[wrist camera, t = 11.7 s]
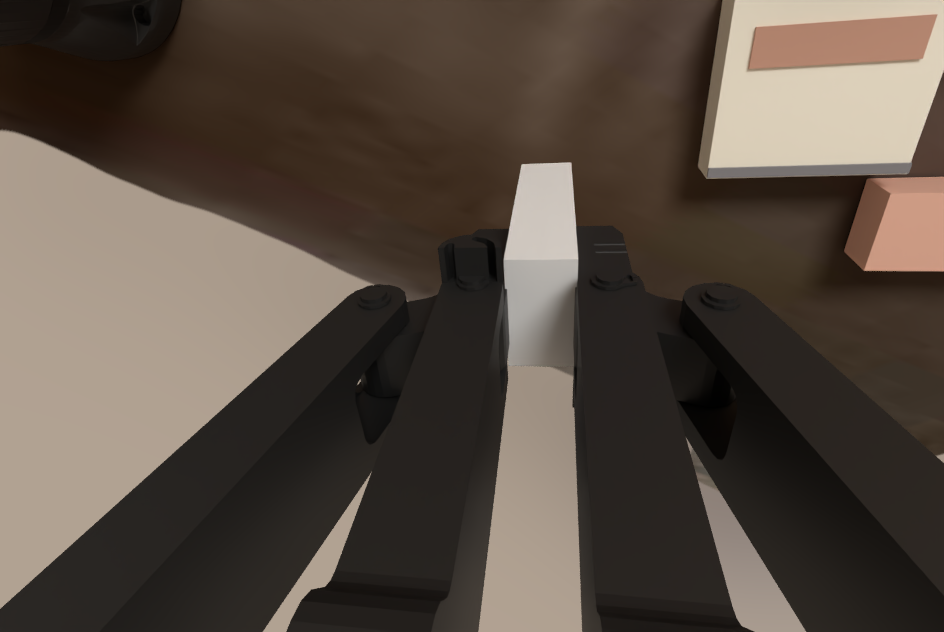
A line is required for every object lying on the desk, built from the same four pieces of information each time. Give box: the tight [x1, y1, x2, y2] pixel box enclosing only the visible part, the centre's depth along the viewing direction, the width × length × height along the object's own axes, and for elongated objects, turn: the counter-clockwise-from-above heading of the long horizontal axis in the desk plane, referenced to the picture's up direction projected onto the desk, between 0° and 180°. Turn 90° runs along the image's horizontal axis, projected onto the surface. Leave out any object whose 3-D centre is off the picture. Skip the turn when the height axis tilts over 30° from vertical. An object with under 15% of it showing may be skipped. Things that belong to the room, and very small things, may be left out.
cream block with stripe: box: [698, 0, 944, 179], centre depth 35 cm, size 13×12×3 cm
